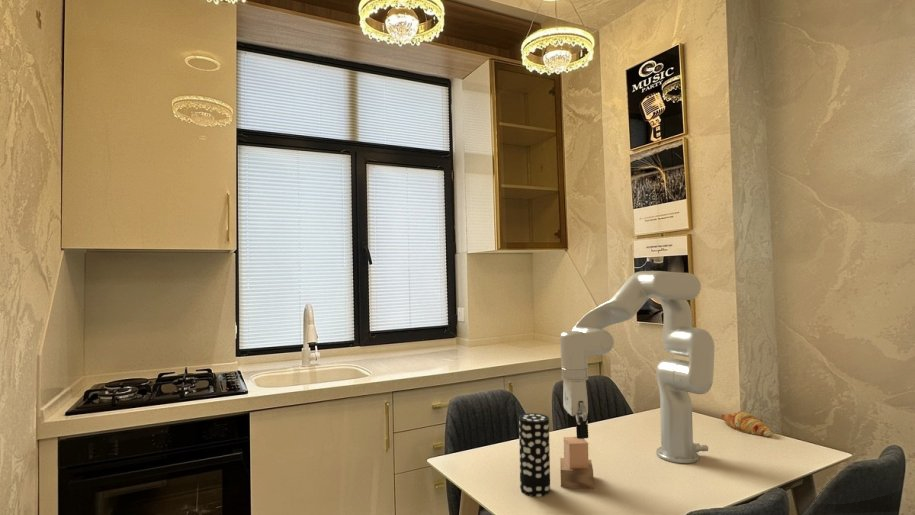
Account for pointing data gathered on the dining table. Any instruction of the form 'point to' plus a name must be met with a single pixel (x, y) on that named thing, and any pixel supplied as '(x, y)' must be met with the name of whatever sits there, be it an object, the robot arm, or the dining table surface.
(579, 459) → the peach matte cube
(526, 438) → the white-spotted black cylinder
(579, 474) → the walnut block
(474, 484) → the dining table surface
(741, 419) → the croissant
